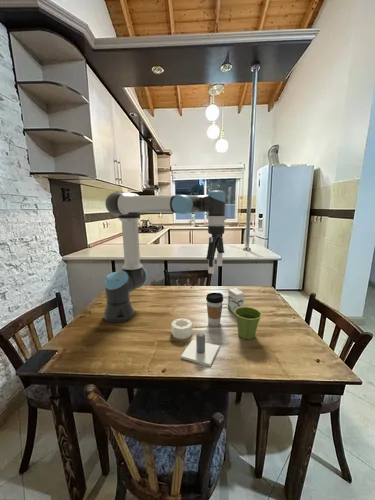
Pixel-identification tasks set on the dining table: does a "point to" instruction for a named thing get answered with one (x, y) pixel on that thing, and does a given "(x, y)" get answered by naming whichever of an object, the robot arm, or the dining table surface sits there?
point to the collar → (181, 328)
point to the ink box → (235, 299)
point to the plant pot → (247, 321)
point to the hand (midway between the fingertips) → (215, 269)
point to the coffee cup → (214, 308)
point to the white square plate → (200, 351)
